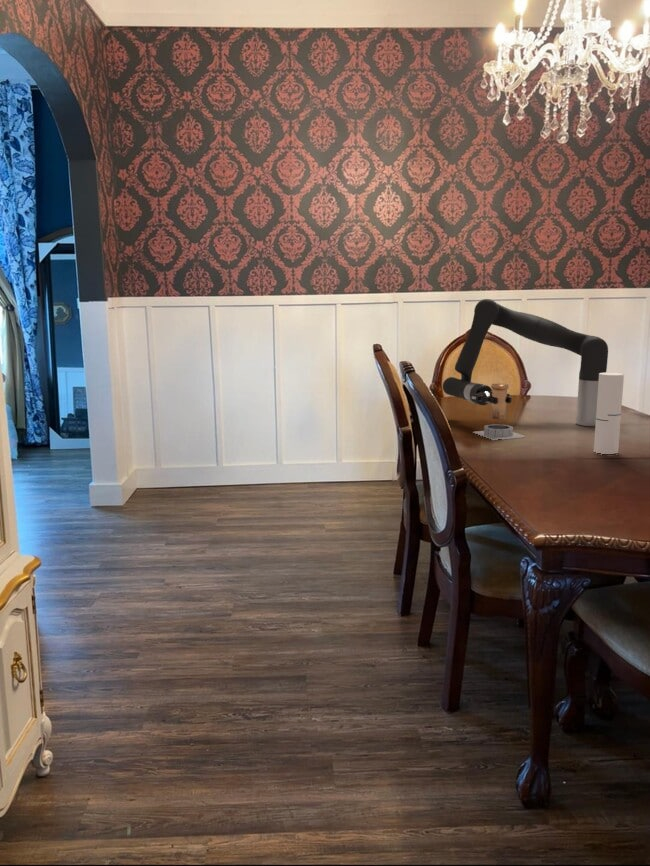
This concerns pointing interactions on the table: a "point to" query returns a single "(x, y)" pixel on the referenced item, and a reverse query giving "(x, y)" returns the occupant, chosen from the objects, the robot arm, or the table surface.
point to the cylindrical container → (608, 413)
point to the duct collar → (498, 432)
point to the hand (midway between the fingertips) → (503, 400)
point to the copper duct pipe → (499, 400)
